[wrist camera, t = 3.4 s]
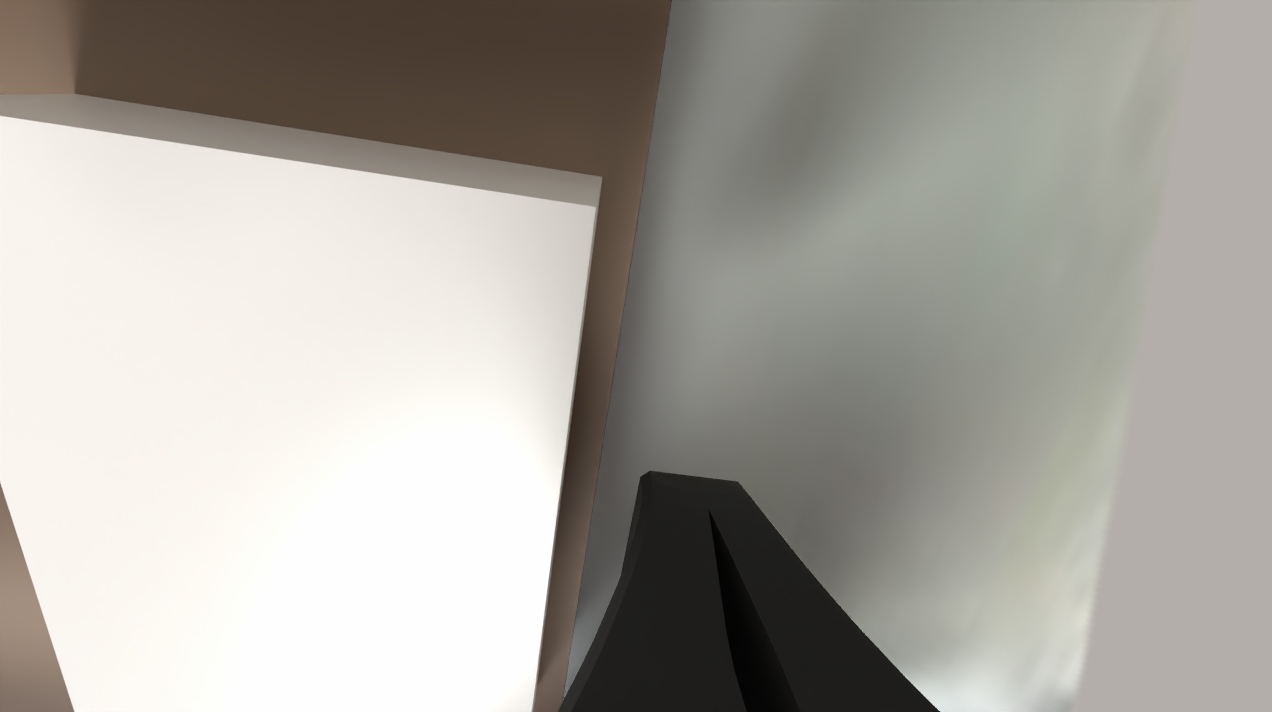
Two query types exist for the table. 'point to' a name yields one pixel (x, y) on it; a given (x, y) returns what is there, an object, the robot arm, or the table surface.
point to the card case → (284, 408)
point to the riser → (391, 113)
